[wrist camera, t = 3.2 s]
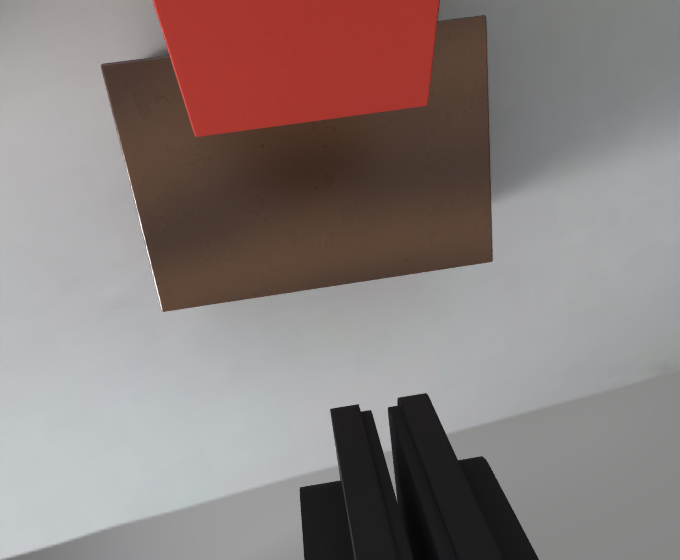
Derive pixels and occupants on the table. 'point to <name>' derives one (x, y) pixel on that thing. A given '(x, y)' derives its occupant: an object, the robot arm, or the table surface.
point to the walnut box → (309, 184)
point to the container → (297, 59)
